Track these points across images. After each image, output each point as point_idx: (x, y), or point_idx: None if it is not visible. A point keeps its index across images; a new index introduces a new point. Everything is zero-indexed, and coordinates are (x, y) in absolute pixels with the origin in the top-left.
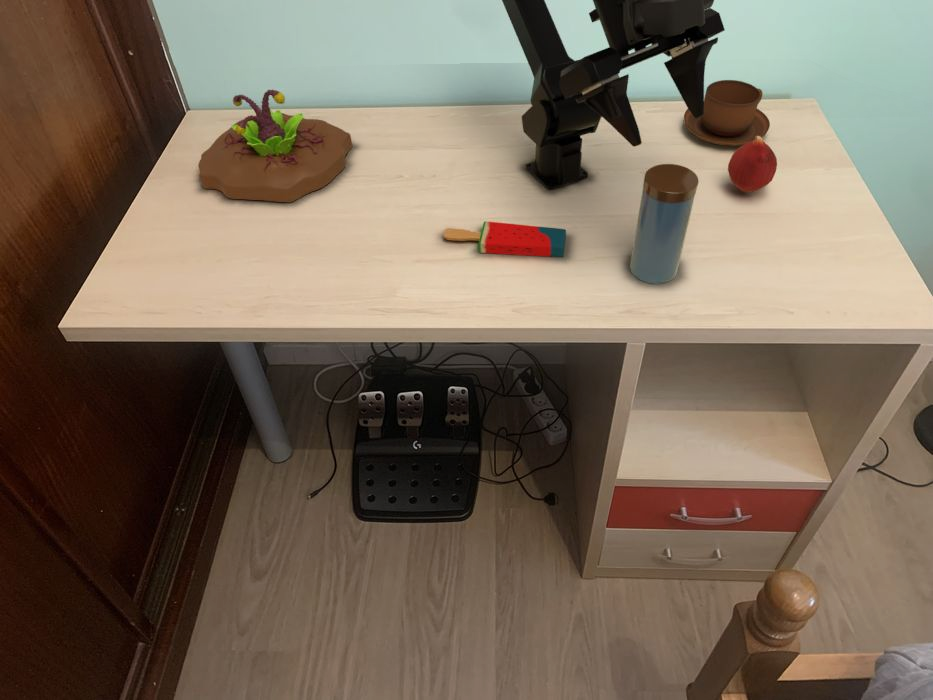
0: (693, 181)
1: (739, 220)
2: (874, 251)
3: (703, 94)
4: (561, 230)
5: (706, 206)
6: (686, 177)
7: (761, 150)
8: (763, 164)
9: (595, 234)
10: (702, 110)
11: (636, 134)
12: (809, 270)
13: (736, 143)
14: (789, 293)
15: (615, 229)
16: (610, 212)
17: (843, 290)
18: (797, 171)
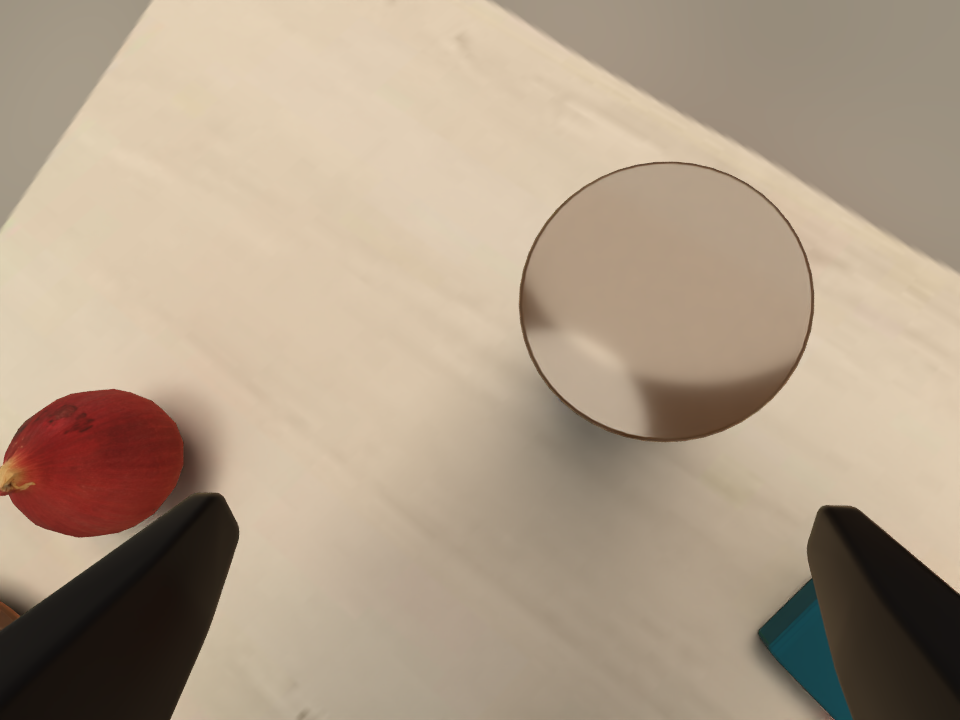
0: (589, 210)
1: (277, 370)
2: (137, 99)
3: (71, 582)
4: (786, 653)
5: (295, 472)
6: (590, 258)
7: (45, 441)
8: (88, 409)
9: (655, 585)
10: (183, 508)
11: (904, 560)
12: (303, 127)
13: (18, 617)
14: (408, 91)
15: (585, 562)
16: (538, 638)
17: (302, 37)
18: (4, 431)
